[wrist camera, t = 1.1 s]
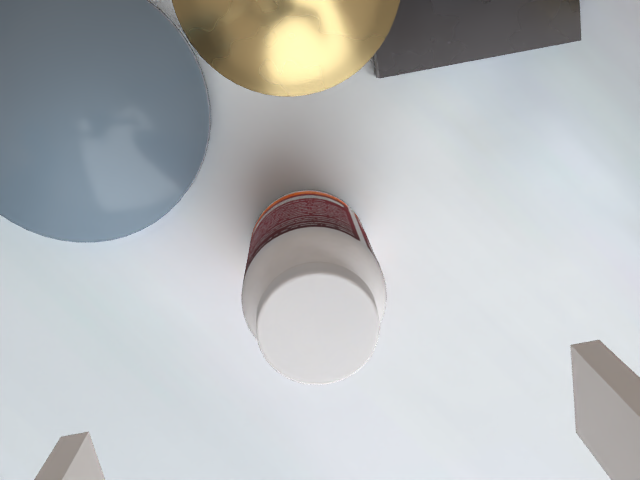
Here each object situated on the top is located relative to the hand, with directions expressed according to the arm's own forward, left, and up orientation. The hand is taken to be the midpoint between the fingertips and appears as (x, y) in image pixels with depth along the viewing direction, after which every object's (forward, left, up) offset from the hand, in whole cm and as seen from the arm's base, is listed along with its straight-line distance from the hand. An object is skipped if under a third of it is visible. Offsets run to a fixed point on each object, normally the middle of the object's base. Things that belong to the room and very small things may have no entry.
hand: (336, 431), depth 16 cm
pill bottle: (0, 0, -18) cm, 18 cm away
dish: (-10, +9, -17) cm, 22 cm away
